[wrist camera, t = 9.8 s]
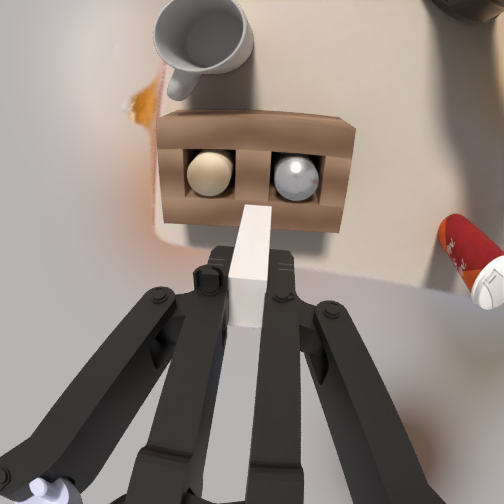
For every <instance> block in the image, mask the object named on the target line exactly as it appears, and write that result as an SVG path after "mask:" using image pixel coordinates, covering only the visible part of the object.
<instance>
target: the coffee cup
mask: <svg viewBox="0 0 504 504" xmlns="http://www.w3.org/2000/svg"><path fill="white" fill-rule="evenodd" d="M438 238H439V241H440V243H441V244H442V246H443V248H444V249H445V251H446V252H447V254H448V256H449V257H450V259H451V260H452V262H453V264H454V265H455V267H456V269H457V270H458V272H459V273H460V275H461V277H462V279H463V280H464V282H465V284H466V285H467V287H468V289H469V291H470V292H471V297H472V301H473V302H474V304H476V305H478V306H480V307H481V308H482V309H485V310H491V309H493V308H496V307H498V306H499V305H501V304H503V303H504V252H503V251H502V250H501V249H500V248H499V247H498V246H497V245H496V244H495V243H494V242H493V241H492V240H491V239H490V238H488V237H487V236H486V235H485V234H484V233H483V232H482V231H481V230H479V229H478V228H477V227H476V226H475V225H474V224H472V223H471V222H470V221H469V220H467V219H466V218H465V217H464V216H462V215H460V214H452V215H450V216H448V217H447V218H445V219H444V220H443V222H442V223H441V225H440V227H439V230H438Z"/></svg>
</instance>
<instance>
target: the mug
mask: <svg viewBox="0 0 504 504" xmlns="http://www.w3.org/2000/svg"><path fill="white" fill-rule="evenodd" d="M153 42H154V46H155V49H156V51H157V53H158V54H159V56H160V57H161V58H162V59H163V61H165V62H166V63H167V64H168V65H170V66H171V67H173V68H175V70H174V73H173V76H172V78H171V80H170V83H169V85H168V89H167V94H168V96H169V97H170V98H171V99H173V100H176V101H182V100H184V99H186V98H187V97H188V96H189V95H190V94H191V93H192V91H193V90H194V88H195V86H196V84H197V82H198V80H199V78H200V77H201V75H202V74H222V73H227V72H230V71H233V70H235V69H237V68H238V67H240V66H241V65H242V64H243V63H244V62H245V61H246V60H247V59H248V57H249V56H250V54H251V52H252V49H253V45H254V35H253V31H252V29H251V27H250V25H249V23H248V20H247V18H246V15H245V13H244V11H243V9H242V8H241V6H240V5H239V4H238V3H237V2H236V1H235V0H171V1H170V2H169V3H168V4H167V5H166V6H165V7H164V8H163V9H162V10H161V12H160V13H159V15H158V17H157V19H156V21H155V24H154V28H153Z"/></svg>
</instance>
